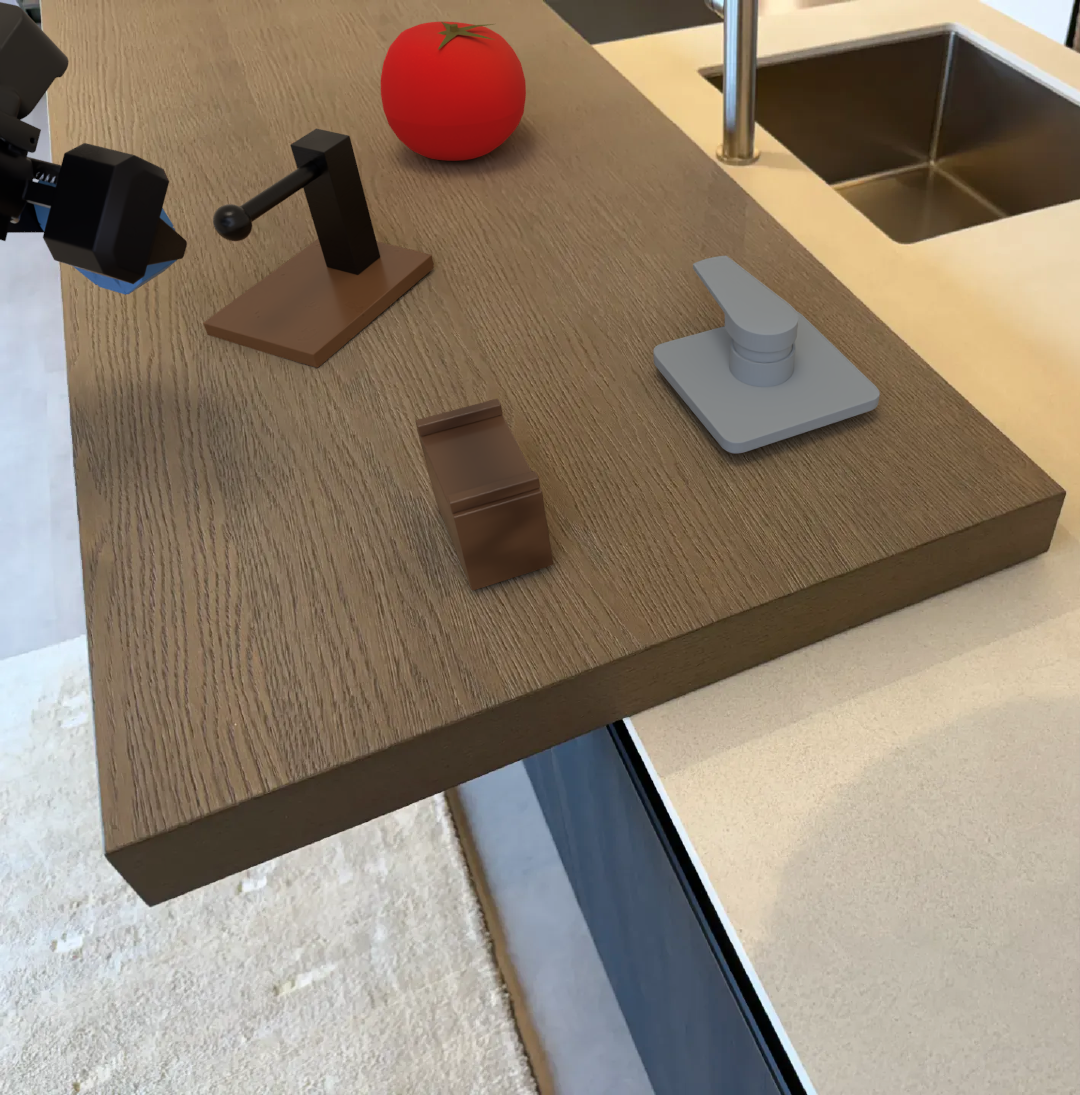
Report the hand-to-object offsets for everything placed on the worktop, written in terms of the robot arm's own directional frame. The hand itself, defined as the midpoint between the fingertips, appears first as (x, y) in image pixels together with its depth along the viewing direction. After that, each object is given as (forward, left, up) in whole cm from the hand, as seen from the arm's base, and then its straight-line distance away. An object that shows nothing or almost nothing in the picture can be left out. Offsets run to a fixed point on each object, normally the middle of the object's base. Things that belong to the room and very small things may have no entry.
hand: (133, 236), depth 63 cm
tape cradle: (+10, -24, -12) cm, 28 cm away
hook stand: (+12, +7, -12) cm, 18 cm away
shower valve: (+33, -21, -12) cm, 41 cm away
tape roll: (-1, -1, -2) cm, 3 cm away
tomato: (+33, +24, -13) cm, 43 cm away
